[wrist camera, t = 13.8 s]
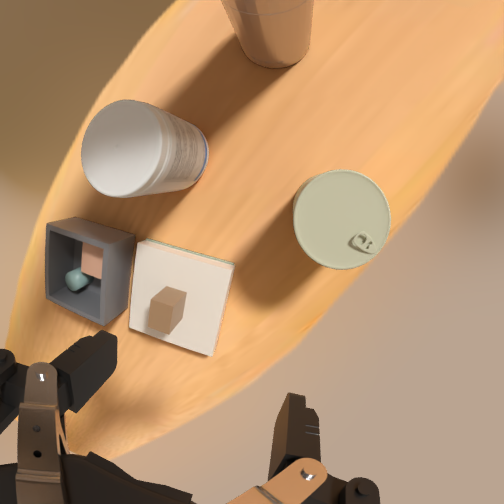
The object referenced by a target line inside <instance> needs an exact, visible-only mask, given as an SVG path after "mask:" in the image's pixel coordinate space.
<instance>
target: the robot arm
mask: <svg viewBox="0 0 504 504" xmlns="http://www.w3.org/2000/svg"><path fill="white" fill-rule="evenodd" d="M221 2H222V4H223V6H224V8H225V10H226V13H227V15H228V17H229V19H230V21H231V24H232V26H233V28H234V31H235V33H236V35H237V38H238V40H239V42H240V45H241V47H242V49H243V51H244V53H245V55H246V56H247V57H248V58H249V59H250V60H251V61H253V62H254V63H256V64H258V65H260V66H264V67H267V68H283V67H287V66H290V65H293V64H295V63H297V62H298V61H299V60H301V59H302V58H303V57H304V56H305V55H306V53H307V51H308V49H309V45H310V36H311V26H312V14H313V2H314V0H221ZM116 365H117V337H116V336H115V335H113V334H110V333H108V332H106V331H104V330H101V331H99V332H98V333H97V334H96V335H95V336H93V337H92V336H87V337H84V338H81V339H79V340H78V341H77V342H76V343H74V345H72V346H70V347H69V348H68V349H67V350H65V351H64V352H63V353H62V354H60V355H59V356H58V357H57V358H55V359H54V360H53V361H52V362H50V363H49V364H48V363H44V362H38V363H34V364H32V365H31V366H30V367H29V366H26V365H22V364H20V363H17V362H16V361H15V357H14V354H13V353H12V352H11V351H9V350H6V349H0V434H1V433H2V432H3V431H4V430H5V429H6V428H7V427H8V425H9V424H10V423H11V422H12V421H13V420H14V419H15V418H16V417H17V416H18V415H19V416H18V439H17V440H18V443H17V454H18V456H17V459H18V463H11V464H4V465H0V504H196V503H194V502H193V501H191V498H192V494H190V493H187V492H183V491H181V490H177V489H175V488H171V487H169V486H166V485H161V484H155V483H149V482H144V481H140V480H136V479H134V478H133V477H131V476H130V475H128V474H127V473H126V472H124V471H123V470H122V469H120V468H119V467H118V466H116V465H115V464H114V463H112V462H110V461H108V460H106V459H104V458H102V457H100V456H98V455H97V454H95V453H93V452H91V451H90V452H89V454H88V455H87V456H82V455H76V454H70V452H69V447H68V439H67V429H66V417H65V412H66V411H67V410H68V409H69V410H71V411H73V412H75V413H77V412H78V411H79V410H80V409H81V408H82V407H83V406H84V405H85V403H86V402H87V401H88V400H89V399H90V398H91V397H92V396H93V395H94V393H95V392H96V391H97V390H98V389H99V388H100V387H101V386H102V385H103V384H104V382H105V381H106V380H107V379H108V378H109V377H110V376H111V375H112V374H113V372H114V371H115V368H116ZM305 404H306V400H305V396H303V395H298V394H293V393H288V394H287V396H286V398H285V401H284V403H283V405H282V408H281V410H280V412H279V414H278V417H277V420H276V423H275V427H274V436H273V443H272V451H271V459H270V467H269V474H268V482H266V483H265V484H264V485H262V486H260V487H259V486H255V487H252V488H251V489H249V490H247V491H246V492H244V493H243V494H241V495H240V496H238V497H236V498H235V499H233V500H231V501H230V502H228V503H226V504H380V497H379V489H378V487H377V486H376V484H375V483H374V482H373V481H371V480H369V479H366V478H362V477H360V478H359V477H358V478H354V479H352V480H350V481H349V482H346V481H344V480H340V479H338V478H335V477H333V476H331V475H329V474H328V473H327V470H326V468H325V466H324V465H323V464H322V463H321V456H320V436H319V434H320V433H319V418H318V416H317V414H316V412H315V411H314V409H310V408H306V405H305Z"/></svg>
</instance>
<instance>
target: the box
mask: <svg viewBox="0 0 504 504" xmlns="http://www.w3.org/2000/svg"><path fill="white" fill-rule="evenodd" d="M134 242H135V235H134V234H131V233H128V232H124V231H121V230H117V229H114V228H111V227H107V226H104V225H101V224H97V223H94V222H91V221H87V220H84V219H81V218H77V217H73V218H68V219H64V220H59V221H55V222H50V223H47V225H46V245H45V290H46V299H48V300H50V301H52V302H54V303H56V304H58V305H60V306H62V307H64V308H66V309H68V310H70V311H72V312H74V313H76V314H78V315H80V316H83V317H85V318H87V319H89V320H91V321H93V322H96V323H98V324H100V325H102V326H105V325H107V324H108V323H109V322H110V321H112V320H113V319H114V318H115V317H117V316H118V315H119V314H120V313H122V312H123V311H124V310H125V309H127V308H128V295H129V284H130V275H131V266H132V257H133V249H134Z"/></svg>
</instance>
